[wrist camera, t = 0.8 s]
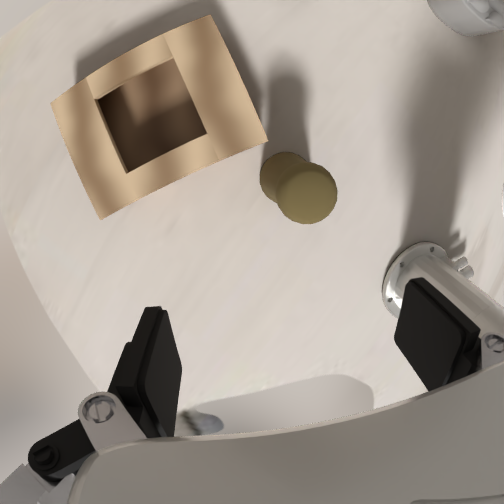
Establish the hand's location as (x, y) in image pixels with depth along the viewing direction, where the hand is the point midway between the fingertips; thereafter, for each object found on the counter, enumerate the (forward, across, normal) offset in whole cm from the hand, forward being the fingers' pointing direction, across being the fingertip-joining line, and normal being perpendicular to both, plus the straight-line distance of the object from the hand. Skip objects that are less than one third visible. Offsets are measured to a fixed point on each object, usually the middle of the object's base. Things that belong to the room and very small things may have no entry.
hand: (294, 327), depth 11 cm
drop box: (+24, +9, -10) cm, 28 cm away
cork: (+24, -4, -2) cm, 25 cm away
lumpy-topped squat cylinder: (+24, -34, -31) cm, 52 cm away
